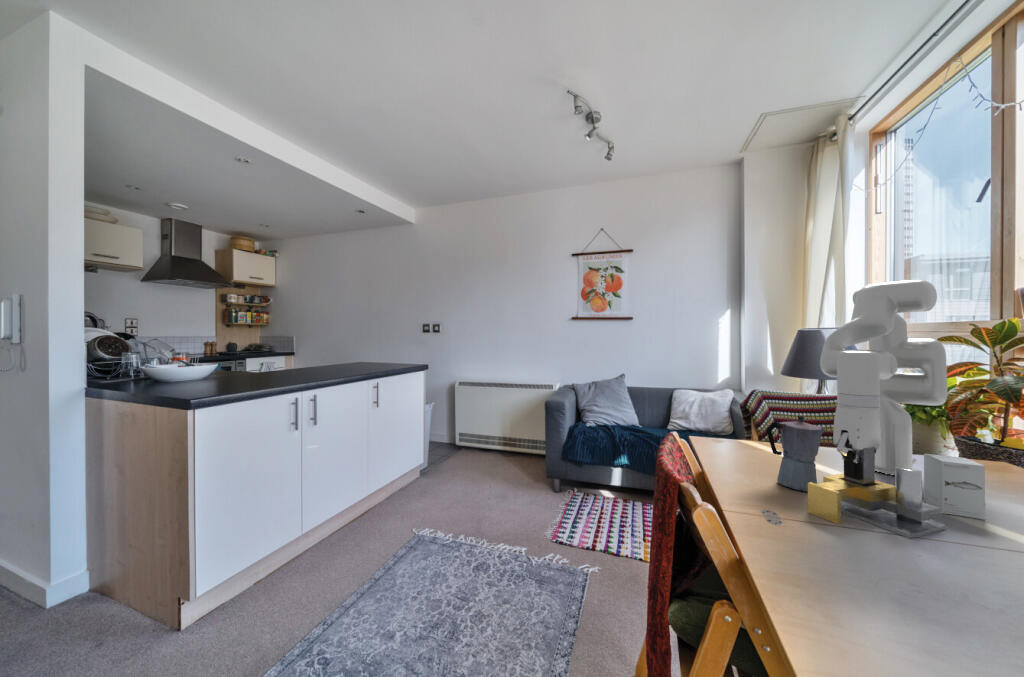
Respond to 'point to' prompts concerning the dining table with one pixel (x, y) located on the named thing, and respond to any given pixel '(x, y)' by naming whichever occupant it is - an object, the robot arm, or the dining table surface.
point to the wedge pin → (865, 468)
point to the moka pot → (797, 452)
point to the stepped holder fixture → (877, 503)
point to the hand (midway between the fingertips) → (858, 476)
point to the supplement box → (955, 485)
